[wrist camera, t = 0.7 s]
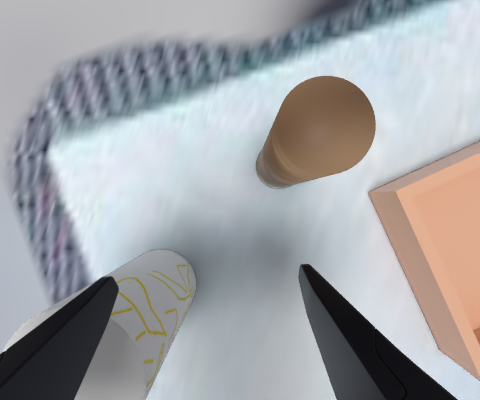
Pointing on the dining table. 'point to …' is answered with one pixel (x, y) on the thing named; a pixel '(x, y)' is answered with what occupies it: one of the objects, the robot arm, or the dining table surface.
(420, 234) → the bin
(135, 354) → the light grey cylinder
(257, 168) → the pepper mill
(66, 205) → the dining table surface
